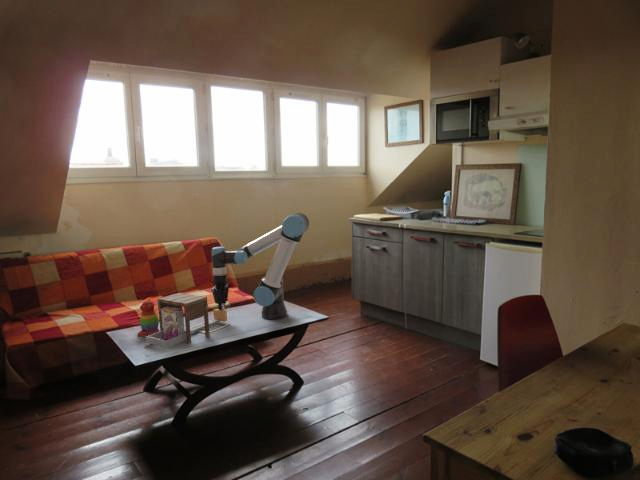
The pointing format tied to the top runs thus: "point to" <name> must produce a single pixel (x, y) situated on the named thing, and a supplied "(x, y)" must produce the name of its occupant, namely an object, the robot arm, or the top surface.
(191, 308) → the small wooden table
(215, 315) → the sled
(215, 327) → the pit mat
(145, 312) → the stacking bear
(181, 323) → the candy bar box
